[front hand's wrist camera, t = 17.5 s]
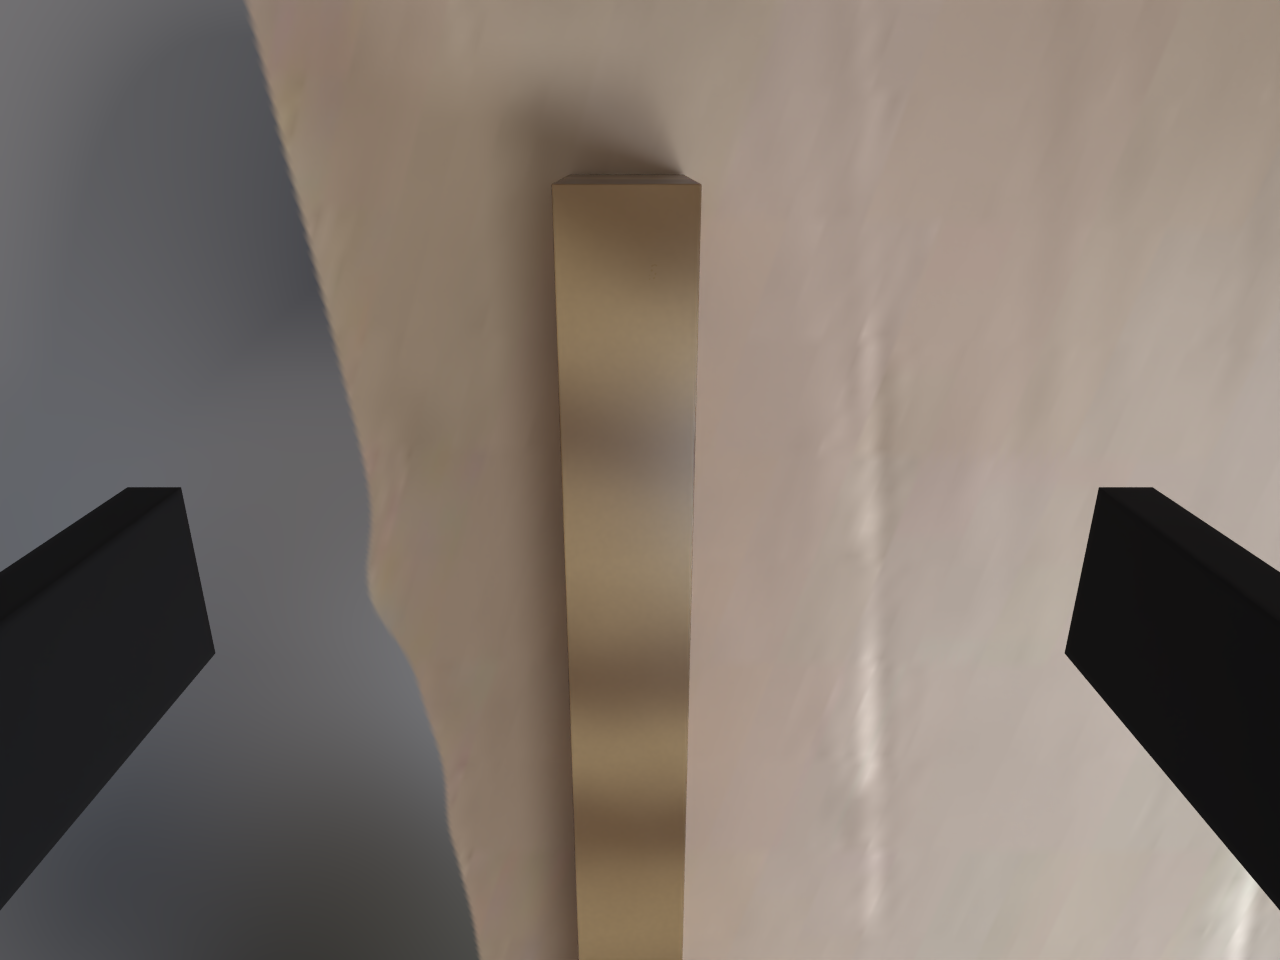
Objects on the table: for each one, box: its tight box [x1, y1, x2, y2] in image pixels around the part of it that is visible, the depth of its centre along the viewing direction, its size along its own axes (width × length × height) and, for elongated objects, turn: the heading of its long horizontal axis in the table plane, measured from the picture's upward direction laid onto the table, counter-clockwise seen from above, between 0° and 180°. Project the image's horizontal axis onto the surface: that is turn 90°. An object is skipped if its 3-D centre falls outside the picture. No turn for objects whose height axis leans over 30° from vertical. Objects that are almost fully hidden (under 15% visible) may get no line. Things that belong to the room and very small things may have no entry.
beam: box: [551, 175, 701, 960], centre depth 42 cm, size 70×4×8 cm, turn 0°
